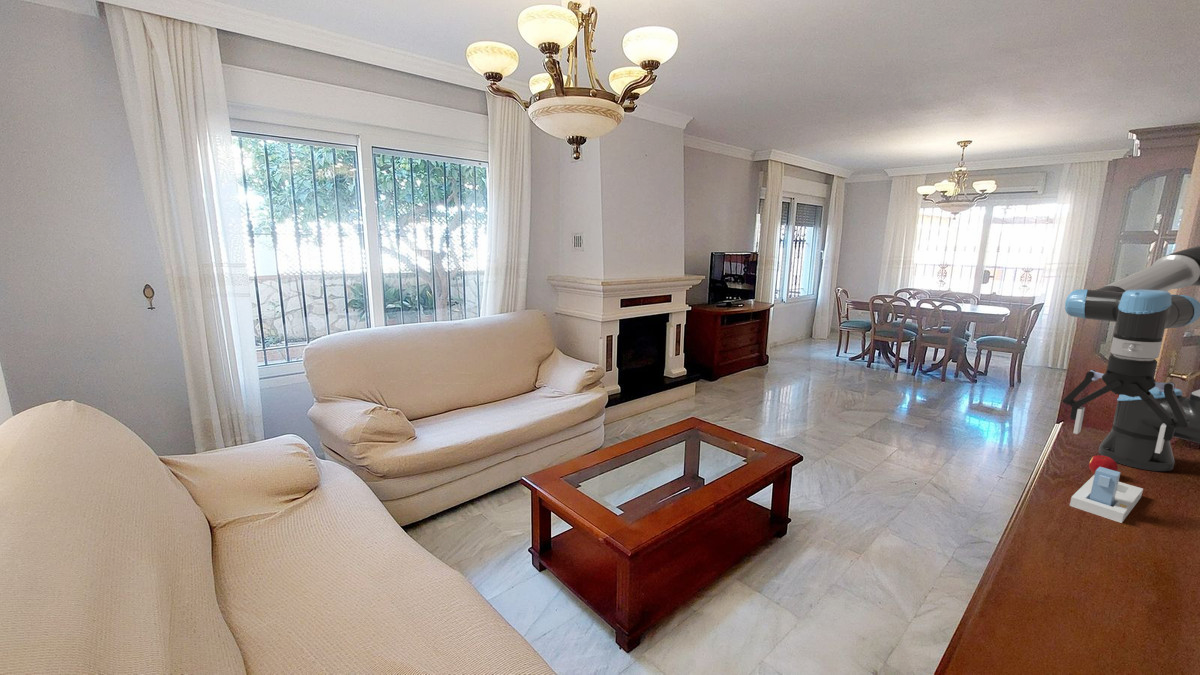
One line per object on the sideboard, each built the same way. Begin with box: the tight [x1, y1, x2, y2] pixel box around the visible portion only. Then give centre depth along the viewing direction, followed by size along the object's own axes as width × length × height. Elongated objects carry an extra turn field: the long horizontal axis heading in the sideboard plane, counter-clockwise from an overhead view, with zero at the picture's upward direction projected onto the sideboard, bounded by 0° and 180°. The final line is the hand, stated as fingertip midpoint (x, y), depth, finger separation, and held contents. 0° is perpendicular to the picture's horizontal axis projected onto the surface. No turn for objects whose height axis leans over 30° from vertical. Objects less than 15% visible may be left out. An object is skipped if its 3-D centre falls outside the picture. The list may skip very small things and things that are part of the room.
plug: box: [1090, 467, 1121, 507], centre depth 116 cm, size 4×4×10 cm
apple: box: [1088, 454, 1119, 475], centre depth 133 cm, size 8×8×6 cm
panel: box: [1069, 474, 1144, 524], centre depth 120 cm, size 20×9×3 cm, turn 123°
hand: (1115, 441), depth 114 cm, fingers open, 13 cm apart
